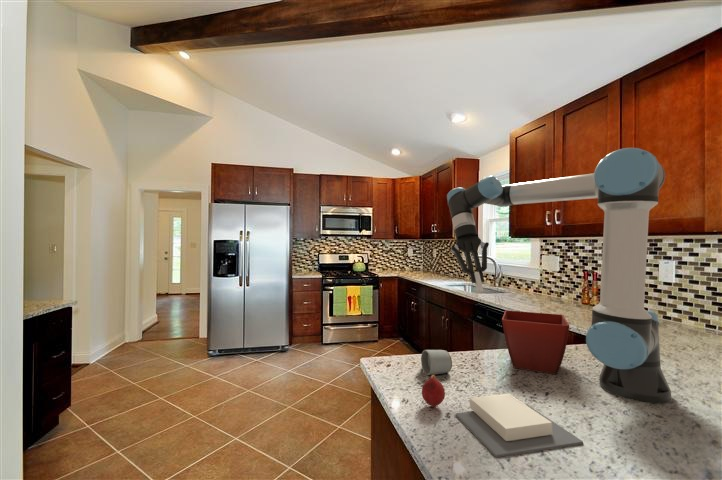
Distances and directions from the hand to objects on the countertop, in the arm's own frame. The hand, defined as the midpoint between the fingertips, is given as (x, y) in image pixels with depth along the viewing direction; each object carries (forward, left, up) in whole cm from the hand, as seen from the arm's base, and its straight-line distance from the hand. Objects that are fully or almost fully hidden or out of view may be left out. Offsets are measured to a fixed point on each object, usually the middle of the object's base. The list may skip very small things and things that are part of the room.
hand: (480, 292), depth 102 cm
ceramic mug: (+15, +5, -27) cm, 31 cm away
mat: (-10, +30, -26) cm, 41 cm away
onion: (+8, +28, -27) cm, 40 cm away
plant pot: (-15, -16, -27) cm, 35 cm away
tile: (-5, +23, -24) cm, 34 cm away
